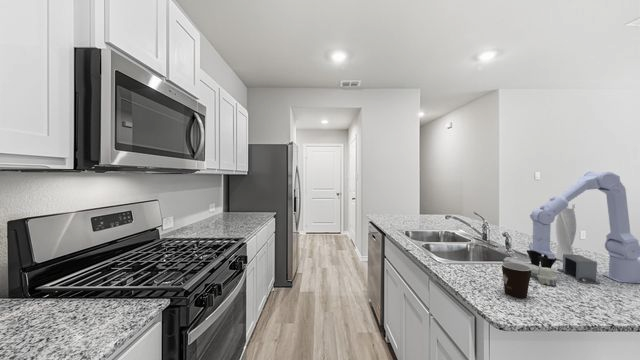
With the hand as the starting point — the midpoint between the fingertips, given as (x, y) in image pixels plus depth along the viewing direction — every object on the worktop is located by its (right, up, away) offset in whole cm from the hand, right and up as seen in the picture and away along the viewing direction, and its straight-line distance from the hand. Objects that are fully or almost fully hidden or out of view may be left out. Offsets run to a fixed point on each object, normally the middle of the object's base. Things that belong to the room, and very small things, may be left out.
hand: (540, 270), depth 119 cm
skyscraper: (+26, -1, +19) cm, 33 cm away
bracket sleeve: (+13, -2, -2) cm, 14 cm away
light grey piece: (-5, -2, +1) cm, 5 cm away
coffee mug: (-22, -3, -17) cm, 28 cm away
